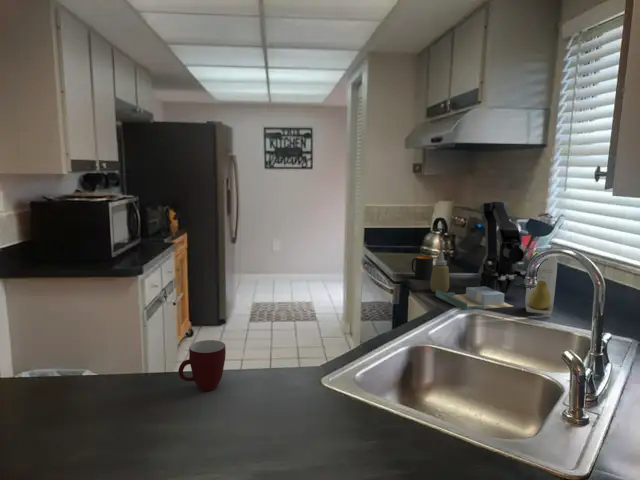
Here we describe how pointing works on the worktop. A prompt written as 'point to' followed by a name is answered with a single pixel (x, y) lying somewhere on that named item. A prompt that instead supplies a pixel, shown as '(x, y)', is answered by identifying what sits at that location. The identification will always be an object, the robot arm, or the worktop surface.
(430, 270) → the mug
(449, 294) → the display board
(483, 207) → the robot arm
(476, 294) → the carton
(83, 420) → the worktop surface
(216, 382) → the mug
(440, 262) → the squeeze bottle
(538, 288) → the juice carton
